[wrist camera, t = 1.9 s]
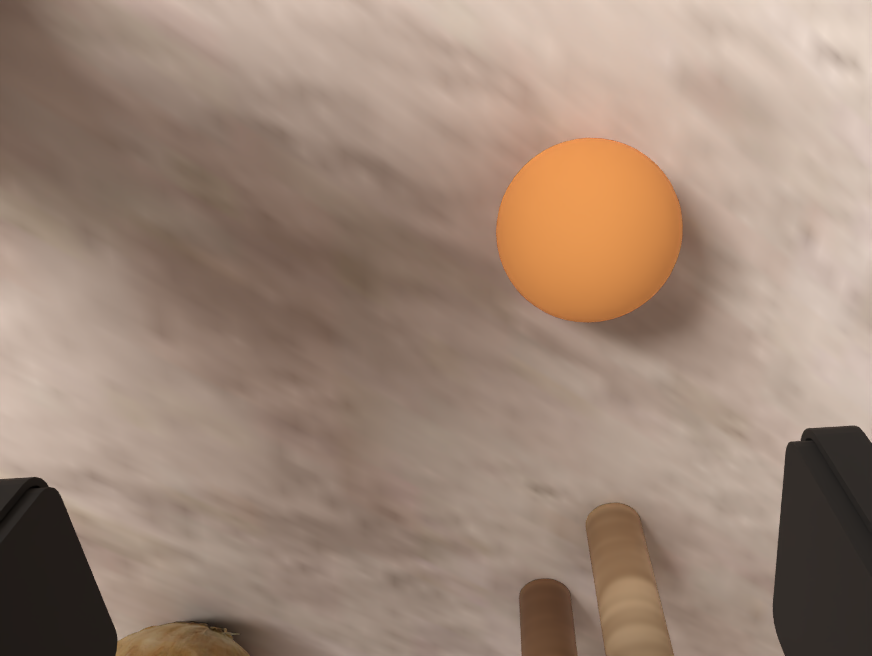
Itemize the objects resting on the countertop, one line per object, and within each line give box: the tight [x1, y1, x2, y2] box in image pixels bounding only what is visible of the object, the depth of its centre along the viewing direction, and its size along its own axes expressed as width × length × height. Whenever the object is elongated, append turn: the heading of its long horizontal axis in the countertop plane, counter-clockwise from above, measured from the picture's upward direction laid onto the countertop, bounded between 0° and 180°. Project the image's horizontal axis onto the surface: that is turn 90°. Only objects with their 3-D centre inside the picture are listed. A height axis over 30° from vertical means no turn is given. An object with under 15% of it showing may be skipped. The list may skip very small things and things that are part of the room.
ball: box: [496, 138, 683, 322], centre depth 26 cm, size 6×6×6 cm
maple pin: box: [586, 503, 674, 656], centre depth 32 cm, size 2×2×9 cm
